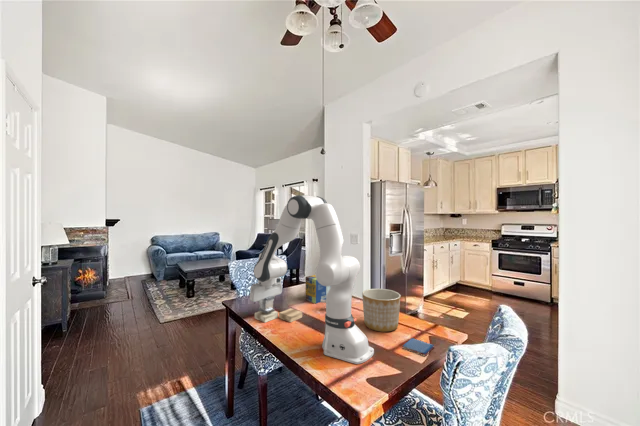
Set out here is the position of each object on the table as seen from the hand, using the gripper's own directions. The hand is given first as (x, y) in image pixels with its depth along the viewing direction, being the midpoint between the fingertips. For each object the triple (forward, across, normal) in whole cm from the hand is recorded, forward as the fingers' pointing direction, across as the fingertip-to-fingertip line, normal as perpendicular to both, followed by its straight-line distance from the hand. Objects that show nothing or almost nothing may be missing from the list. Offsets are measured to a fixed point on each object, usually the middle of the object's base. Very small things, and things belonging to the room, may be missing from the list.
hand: (266, 305), depth 151 cm
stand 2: (+7, +9, -10) cm, 15 cm away
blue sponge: (+8, +21, -76) cm, 79 cm away
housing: (+3, 0, 0) cm, 3 cm away
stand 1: (+7, 0, 0) cm, 7 cm away
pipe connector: (+7, +32, -19) cm, 38 cm away
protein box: (+7, +43, -2) cm, 44 cm away
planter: (+7, +32, -53) cm, 62 cm away
